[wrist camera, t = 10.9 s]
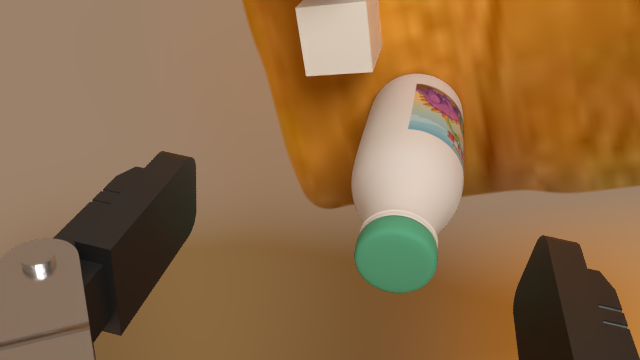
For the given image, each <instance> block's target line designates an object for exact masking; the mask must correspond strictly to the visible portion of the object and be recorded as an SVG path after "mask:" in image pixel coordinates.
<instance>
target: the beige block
mask: <svg viewBox="0 0 640 360" xmlns="http://www.w3.org/2000/svg"><path fill="white" fill-rule="evenodd" d="M295 11H296V17H297V23H298V29H299V35H300V42H301V48H302V54H303V60H304V67H305V73H306V76H319V75H335V74H351V73H366V72H373V70H374V68H375V65H376V62H377V59H378V57H379V54H380V51H381V49H382V37H381V25H380V14H379V2H378V0H302V2H301V3H300V4H299V5H298V6H297V7H296V8H295Z"/></svg>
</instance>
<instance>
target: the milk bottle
mask: <svg viewBox="0 0 640 360" xmlns="http://www.w3.org/2000/svg"><path fill="white" fill-rule="evenodd" d="M463 182H464V123H463V110H462V105H461V102H460V100H459V98H458V96H457V94H456V93H455V91H454V90H453V89H452V88H451V87H450V86H449V85H448V84H446V83H445V82H444V81H442V80H440V79H438V78H436V77H433V76H430V75H426V74H408V75H403V76H400V77H398V78H395V79H393V80H392V81H390V82H389V83H387V84H386V85H385V86H384V87H383V88H382V89H381V90H380V91H379V92H378V94H377V96H376V97H375V99H374V102H373V104H372V107H371V110H370V113H369V116H368V119H367V122H366V125H365V128H364V131H363V135H362V138H361V141H360V144H359V148H358V151H357V155H356V158H355V163H354V167H353V172H352V184H351V187H352V196H353V201H354V204H355V207H356V210H357V212H358V214H359V216H360V218H361V220H362V222H363V224H362V227H361V228H360V231H359V236H358V239H357V243H356V248H355V254H354V257H355V264H356V267H357V269H358V272H359V273H360V275H361V276H362V277H363V278H364V279H365V280H366V281H367V282H368V283H369V284H371V285H372V286H374V287H376V288H378V289H380V290H383V291H386V292H392V293H407V292H412V291H415V290H418V289H420V288H422V287H423V286H425V285H426V284H427V283H428V282H429V281H430V280H431V278H432V277H433V275H434V273H435V271H436V267H437V260H438V238H437V234H438V233H439V232H440V231H441V230H442V229H443V228H444V227H445V226H446V225H447V224H448V223H449V221H450V220H451V219H452V217H453V215H454V214H455V212H456V210H457V208H458V205H459V203H460V200H461V196H462V191H463Z"/></svg>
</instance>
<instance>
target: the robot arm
mask: <svg viewBox="0 0 640 360" xmlns="http://www.w3.org/2000/svg"><path fill="white" fill-rule="evenodd" d="M195 217H196V164H195V160H194V159H193V158H192V157H187V156H182V155H178V154H173V153H169V152H164V151H162V152H160V153H159V154H158V155H157V156H156V157H155V158H154V159H153V160H152V161H151V162H150V163H149V164H148V165H147V166H146V167H145V168H140V167H134V168H132V169H130V170H128V171H126V172H124V173H122V174H120V175H118V176H116V177H115V178H114V179H113V180H112V181H111V182H110V183H109V184H108V185H107V186H106V187H105V188H104V189H103V192H102V191H101V192H100V193H99V194H98V195H97V196H96V197H95V198H94V199H93V201H92V202H89V203H88V204H87V205H86V207H84V208H83V209H82V210H81V211H80V212H79V213H78V214H77V215H76V216H75V217H74V218H73V219H72V220H71V221H70V222H69V223H68V224H67V225H66V226H65V227H64V228H63V229H62V230H61V231H60V232H59V233H58V234H57V235H56V236H55V237H54V238H43V239H36V240H31V241H28V242H25V243H22V244H20V245H18V246H16V247H14V248H12V249H11V250H9V251H8V252H7V253H6V254H5V255H4V256H3V257H2V258H1V259H0V360H96V357H95V351H94V345H93V343H94V341H95V340H96V338H97V337H98V336H99V334H100V333H101V332H102V331H105V332H109V333H112V334H116V335H120V336H121V335H122V333H123V332H124V330H125V329H126V328H127V326H128V324H129V323H130V322H131V320H132V319H133V317H134V316H135V314H136V313H137V311H138V310H139V308H140V307H141V305H142V304H143V303H144V301H145V300H146V298H147V297H148V295H149V294H150V292H151V291H152V289H153V288H154V286H155V285H156V283H157V282H158V281H159V279H160V278H161V276H162V275H163V273H164V272H165V270H166V269H167V267H168V266H169V264H170V263H171V261H172V260H173V258H174V257H175V255H176V254H177V253H178V251H179V250H180V248H181V247H182V245H183V244H184V242H185V241H186V239H187V238H188V236H189V235H190V233H191V231H192V228H193V225H194V222H195ZM513 314H514V323H515V331H516V340H517V348H518V355H519V360H640V358H639V356H638V353H637V350H636V347H635V345H634V341H633V339H632V336H631V333H630V330H629V329H627V326H628V325H627V322H626V319H625V316H624V313H622V308H621V305H620V302H619V299H618V296H617V293H616V291H615V289H614V288H613V287H612V286H611V285H610V283H609V282H608V281H607V280H606V279H605V277H604V276H603V275H602V274H601V273H600V272H599V271H596V270H592V269H587V266H586V263H585V260H584V257H583V253H582V250H581V247H580V245H579V244H578V243H576V242H571V241H566V240H562V239H557V238H553V237H548V236H544V235H543V236H541V237H540V238H539V239H538V241H537V243H536V245H535V247H534V249H533V252H532V254H531V256H530V259H529V261H528V263H527V265H526V268H525V270H524V272H523V275H522V277H521V279H520V282H519V284H518V286H517V289H516V293H515V298H514V305H513Z"/></svg>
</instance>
